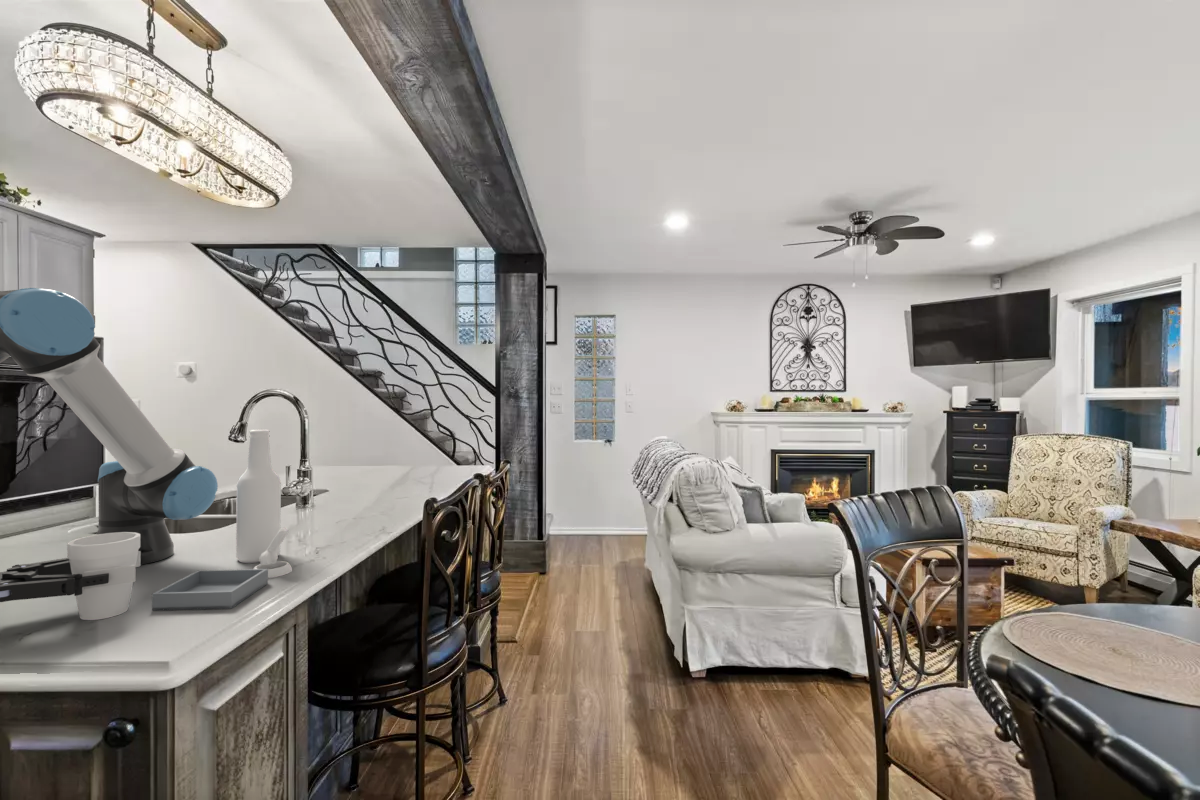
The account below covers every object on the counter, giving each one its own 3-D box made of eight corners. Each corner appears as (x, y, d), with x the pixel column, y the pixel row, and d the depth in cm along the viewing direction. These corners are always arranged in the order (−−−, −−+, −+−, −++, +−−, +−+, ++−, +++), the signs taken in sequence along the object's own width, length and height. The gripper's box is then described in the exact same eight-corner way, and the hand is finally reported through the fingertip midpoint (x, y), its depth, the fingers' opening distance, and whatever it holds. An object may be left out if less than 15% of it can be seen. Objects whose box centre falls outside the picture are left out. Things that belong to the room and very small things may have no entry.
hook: (301, 554, 115) (270, 537, 114) (271, 597, 117) (240, 580, 115) (316, 537, 122) (287, 521, 121) (287, 578, 124) (258, 562, 122)
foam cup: (148, 610, 98) (148, 537, 98) (78, 628, 90) (79, 548, 90) (127, 599, 103) (127, 529, 103) (60, 615, 95) (60, 540, 95)
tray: (198, 585, 111) (198, 570, 111) (267, 583, 112) (267, 568, 112) (152, 610, 98) (152, 593, 98) (231, 608, 99) (231, 591, 99)
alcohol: (231, 565, 124) (232, 431, 123) (241, 554, 132) (241, 429, 132) (276, 561, 127) (277, 430, 127) (283, 551, 135) (284, 428, 135)
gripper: (-27, 593, 95) (142, 570, 108) (-79, 640, 77) (131, 605, 90) (-27, 549, 95) (143, 531, 108) (-79, 586, 77) (132, 560, 90)
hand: (137, 565), depth 99 cm, fingers closed on foam cup, 9 cm apart
